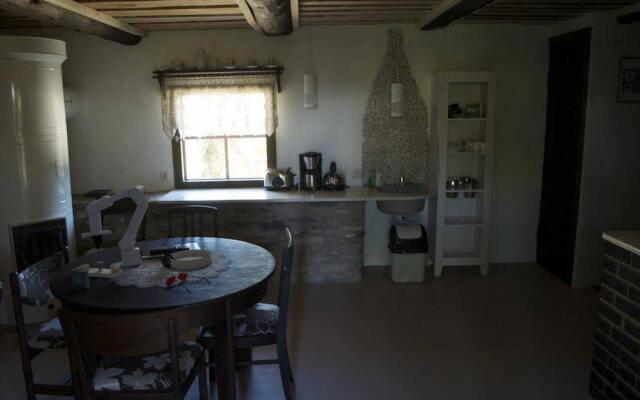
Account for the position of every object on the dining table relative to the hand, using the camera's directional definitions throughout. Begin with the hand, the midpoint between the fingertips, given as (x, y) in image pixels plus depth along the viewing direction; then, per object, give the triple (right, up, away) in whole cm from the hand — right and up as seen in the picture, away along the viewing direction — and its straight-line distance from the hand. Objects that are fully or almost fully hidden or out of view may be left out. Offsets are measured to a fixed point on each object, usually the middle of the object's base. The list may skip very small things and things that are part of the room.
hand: (98, 248), depth 274 cm
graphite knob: (+8, -9, -15) cm, 19 cm away
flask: (+7, -16, -35) cm, 39 cm away
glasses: (+58, -15, -34) cm, 69 cm away
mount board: (+8, -12, -15) cm, 20 cm away
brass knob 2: (+16, -12, -17) cm, 26 cm away
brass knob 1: (-1, -11, -12) cm, 17 cm away
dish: (+50, -9, +2) cm, 51 cm away
